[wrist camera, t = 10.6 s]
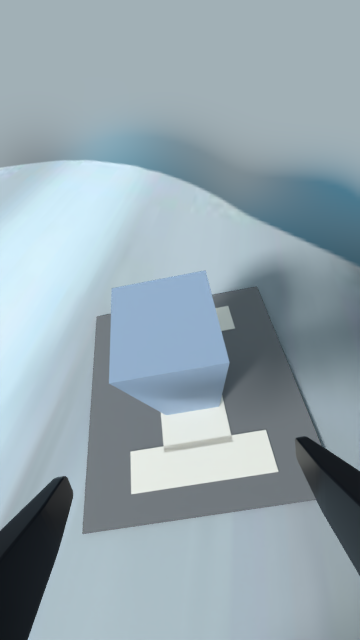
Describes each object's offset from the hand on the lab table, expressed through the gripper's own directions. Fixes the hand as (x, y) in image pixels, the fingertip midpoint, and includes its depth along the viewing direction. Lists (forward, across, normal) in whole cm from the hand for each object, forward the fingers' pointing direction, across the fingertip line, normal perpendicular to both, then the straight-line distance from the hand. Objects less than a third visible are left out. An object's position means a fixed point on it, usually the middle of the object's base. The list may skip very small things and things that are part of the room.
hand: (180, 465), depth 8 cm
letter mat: (+13, 0, +4) cm, 13 cm away
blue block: (+12, 0, +4) cm, 13 cm away
